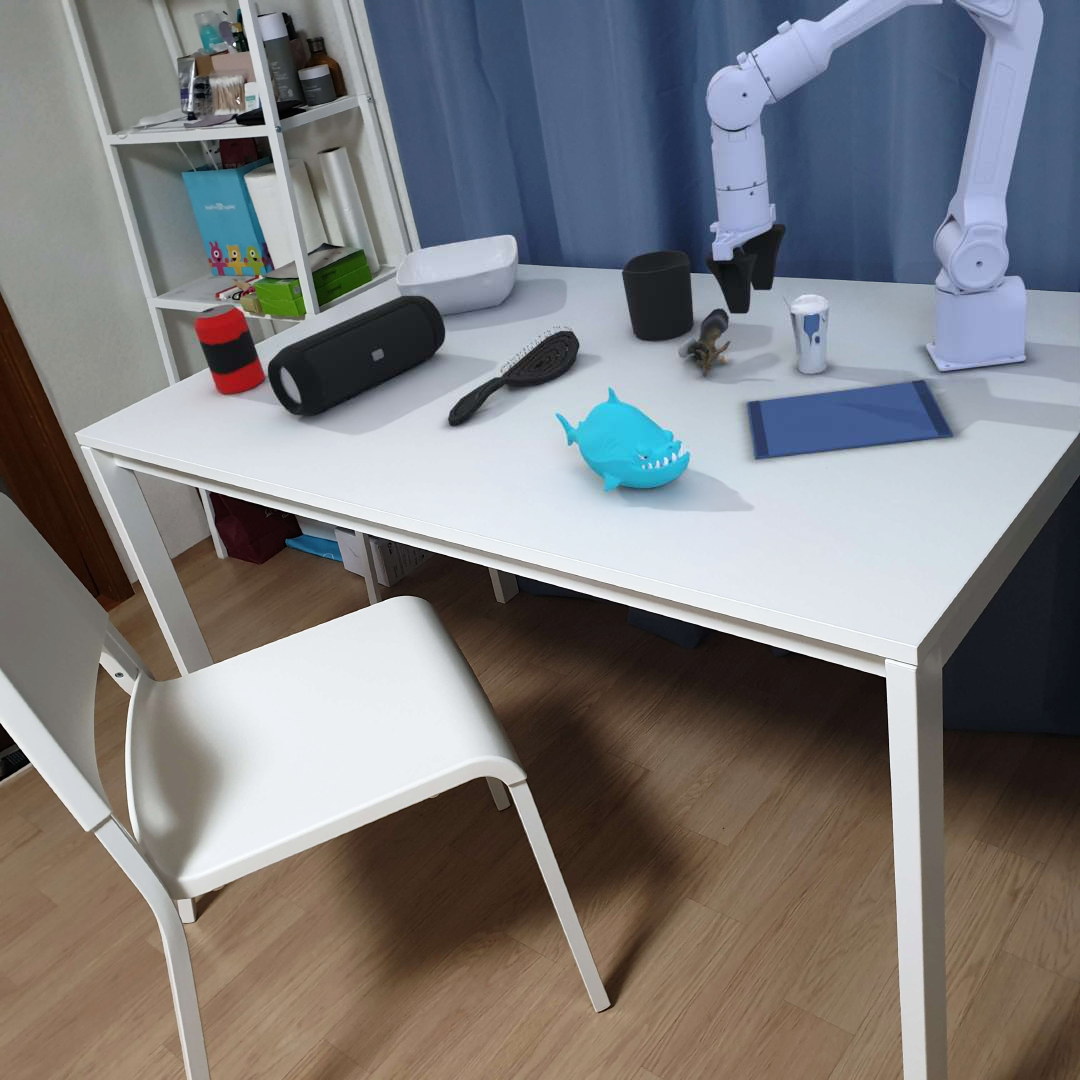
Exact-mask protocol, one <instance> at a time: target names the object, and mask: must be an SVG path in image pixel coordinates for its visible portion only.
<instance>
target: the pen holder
mask: <svg viewBox="0 0 1080 1080" xmlns="http://www.w3.org/2000/svg"><path fill="white" fill-rule="evenodd" d="M691 275H692V274H691V263H690V259H689V256H688V254H686V253H685V252H684V251H680V250H658V251H651V252H646V253H642V254H639V255H637V256H634V257H632V258H631V259H630V260H629V261H627V263H626V264H625V265H624V267H623V269H622V272H621V276H622V282H623V288H624V292H625V298H626V303H627V308H628V314H629V318H630V323H631V329H632V332H633V334H634V336H635V337H636V338H637V339H640V340H643V341H651V342H652V341H653V342H654V341H656V342H657V341H665V340H671V339H675V338H677V337H680V336H683V335H685V334H686V333H688V332H689V331H691V329H692V327H693V326H694V307H693V306H694V303H693V292H692V291H693V290H692V276H691Z"/></svg>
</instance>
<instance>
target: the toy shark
mask: <svg viewBox="0 0 1080 1080" xmlns="http://www.w3.org/2000/svg"><path fill="white" fill-rule="evenodd" d="M607 387H608V388H607V389H608V398H607V400H606V401H603V402H601V403H599V404H597V405H595V406H594V408H592V409H591V410H590V412H589V413H588V414H587V415H586V417H585V419H584V420H583V421H582V420H581V421H578V425H577V427H576V428H574V427H573V426H572V425H571V424H570V423H569V422H568V420H567V419H566V417H564V416H563V415H562V414H561V413H559V412H555V417H556V418H557V420H559V423H560V425H562V427H563V429H564V433H565V434H566V440H567V444H566V445H567V446H568V447H571V446H572V445H573V443H575V444H576V445H578V450H579V453H580V455H581V457H582V458H583V460H584V462H585V463H586V464H587V465H588V467H589V468H590V469H591V471H593V472H594V473H595V474H596V475H598V476H599V477H601V478H602V479H603V480H604V481H605V482H604V483H605V484H604V488H603V492H609V491H612V490H614V489H615V488H617V487H618V486H623V487H626V488H627V487H628V488H632V489H633V488H635V489H652V488H657V487H661V486H663V485H666V484H668V483H670V482H672V481H674V480H676V479H677V478H679V477H680V476H681V475H682V474H683V473H684V472H685V470H687V468H688V466H689V464H690V458H691V457H690V456H691V454H690V452H689V451H688V450H687V446H686V445H685V444H683V442H682V441H681V440H679V439H675V441H674V438H675V435H674V433H673V431H671V430H670V429H663V428H662V427H661V426H659V424H658V423H656V422H655V421H654V420H652V419H651V418H650V417H649V416H647V415H646V414H645V413H644V412H642V411H641V410H640V409H639V408H638V407H637V406H635V405H632V404H629V403H627V402H623V401H620V399H619V397H617V395H616V392H615V390H613V388H611V387H610V386H607Z"/></svg>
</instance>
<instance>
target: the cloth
mask: <svg viewBox="0 0 1080 1080" xmlns="http://www.w3.org/2000/svg"><path fill="white" fill-rule="evenodd" d="M746 404H747V405H746V406H747V411H748V416H749V417H748V418H749V426H750V431H751V438H752V444H753V451H754V456H755V457H754V458H755V460H757V459H758V460H759V459H766V458H776V457H785V456H793V455H801V454H802V455H803V454H810V453H819V452H827V451H835V450H845V449H853V448H854V449H855V448H862V447H863V448H864V447H871V446H880V445H887V444H895V443H905V442H914V441H922V440H930V439H940V438H948V437H950V438H951V437H954V433H953V431H952V429H951V427H950V425H949V423H948V421H947V420H946V417H945V415H944V414H943V412H942V410H941V407H940V406H939V404H938V402H937V400H936V399H935V397H934V395H933V393H932V391H931V389H930V387H929V385H928V383H927V382H926V380H925V379H921V380H912V381H909V382H900V383H892V384H885V385H876V386H868V387H861V388H852V389H846V390H845V389H844V390H836V391H829V392H821V393H813V394H805V395H797V396H789V397H781V398H772V399H766V400H765V399H764V400H751V401H748V402H747V403H746Z"/></svg>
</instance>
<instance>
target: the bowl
mask: <svg viewBox="0 0 1080 1080" xmlns="http://www.w3.org/2000/svg"><path fill="white" fill-rule="evenodd" d="M517 243H518V242H517V240H516V238H515V236H514V235H512V234H503V235H494V236H488V237H482V238H475V239H470V240H463V241H457V242H452V243H445V244H440V245H435V246H429V247H425V248H421V249H417V250H413V251H412V252H410V253H408V254H407V255H406V256H405V257H404V258H403V260H402V261H401V262H400V264H399V267H398V268H397V271H396V275H395V284H396V286H397V289H398V291H399V294H400V296H423V297H425V298H427V299H429V300H430V301H431V302H432V303H433V304H434V305H435V307H436V308H437V309H438V311H439V313H440V315H441V317H442V316H449V315H455V314H460V313H461V314H462V313H466V312H467V313H468V312H472V311H477V310H483V309H489V308H493V307H498V306H500V305H501V304H502V303H503V301H504V300H505V299H507V297H508V296H509V295H510V293H511V291H512V290H513V288H514V284H515V281H516V279H517V274H518V268H519V251H518V244H517Z"/></svg>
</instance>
